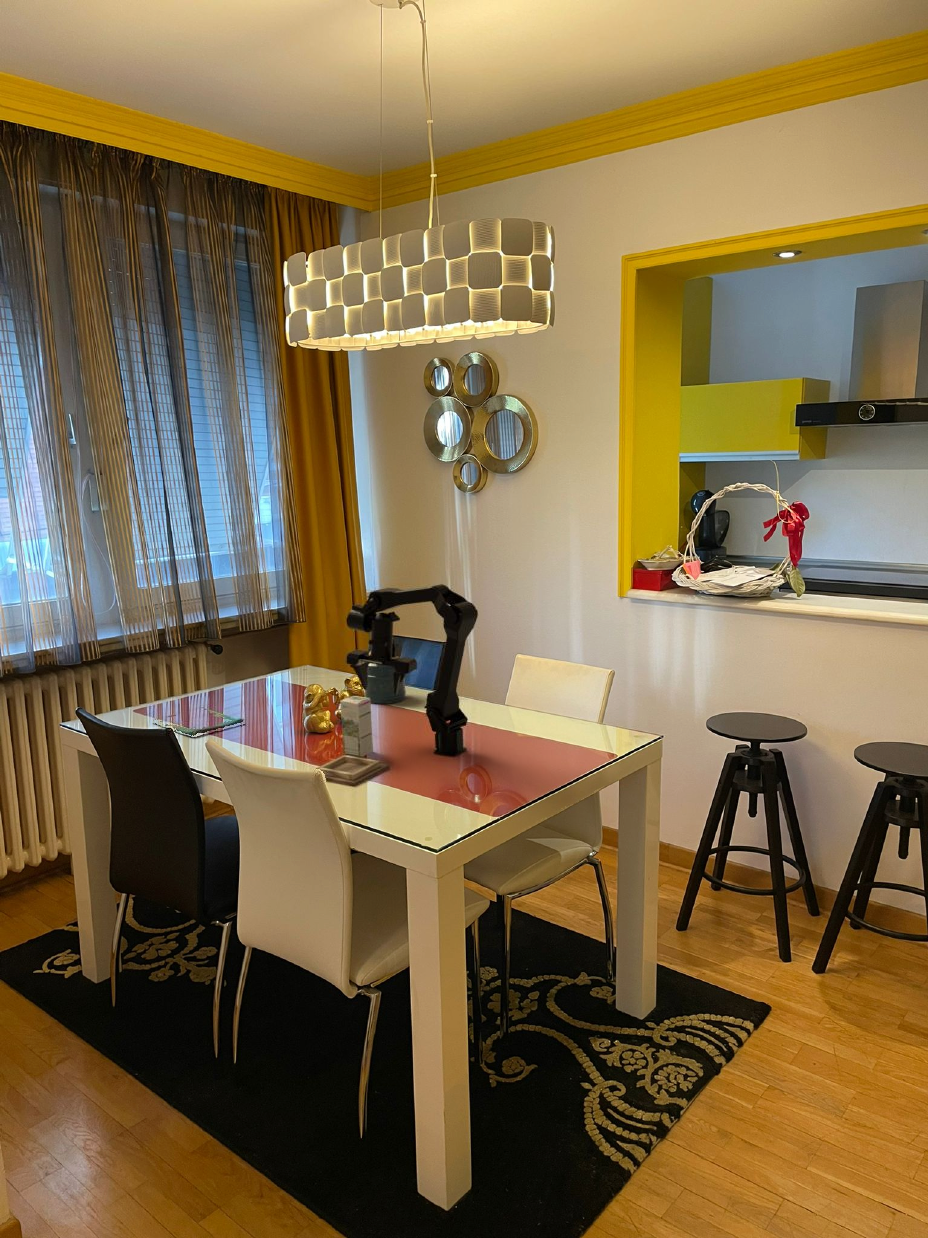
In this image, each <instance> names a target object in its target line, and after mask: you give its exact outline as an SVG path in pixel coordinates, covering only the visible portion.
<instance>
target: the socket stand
mask: <svg viewBox="0 0 928 1238" xmlns="http://www.w3.org/2000/svg"><path fill="white" fill-rule="evenodd" d="M316 769H320V770H321V771H323V773H324V774H325V778H326V780H327V781H326V782H331V783H336V784H341V785H345V786H351V787H356V786H358V785H360V784H362V783H364V782H365V781H367V780H369V779H371V778H374V777H375V776H377V775H379V774H380V773H382V772H384V771H385V772H386V771H387V770H389V769H390V764H386V763H381V760H377V759H376V760H375V759H370V758H364V757H357V756H351V755H346V754H343V755H340V756H339V757H337V758H334V759H333V760H330V761H328V762H327V763H324V764H322V765H320V766H318V767H316V768H315V770H316Z"/></svg>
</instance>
